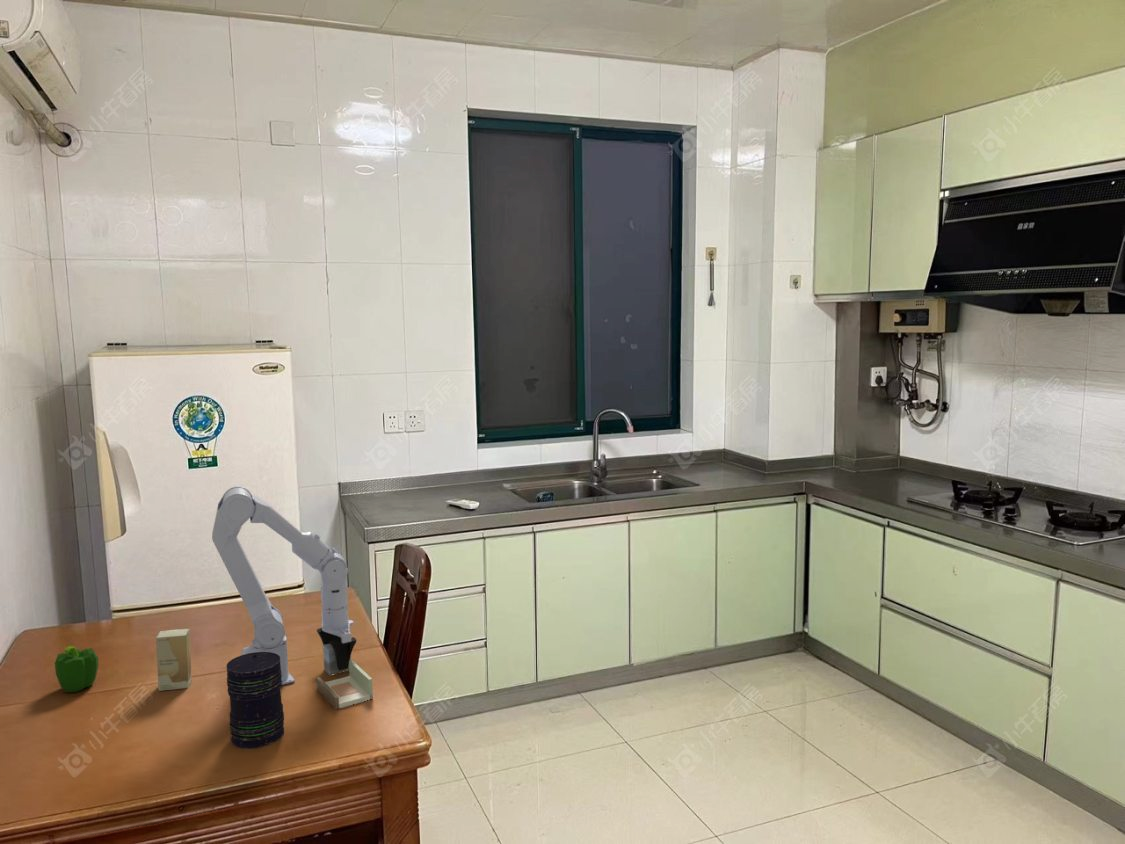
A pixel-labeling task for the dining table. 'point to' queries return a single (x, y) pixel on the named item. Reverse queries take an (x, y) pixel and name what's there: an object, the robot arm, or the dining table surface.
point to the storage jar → (255, 700)
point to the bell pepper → (76, 668)
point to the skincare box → (173, 659)
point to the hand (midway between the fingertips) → (337, 663)
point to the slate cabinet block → (331, 660)
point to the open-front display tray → (347, 688)
